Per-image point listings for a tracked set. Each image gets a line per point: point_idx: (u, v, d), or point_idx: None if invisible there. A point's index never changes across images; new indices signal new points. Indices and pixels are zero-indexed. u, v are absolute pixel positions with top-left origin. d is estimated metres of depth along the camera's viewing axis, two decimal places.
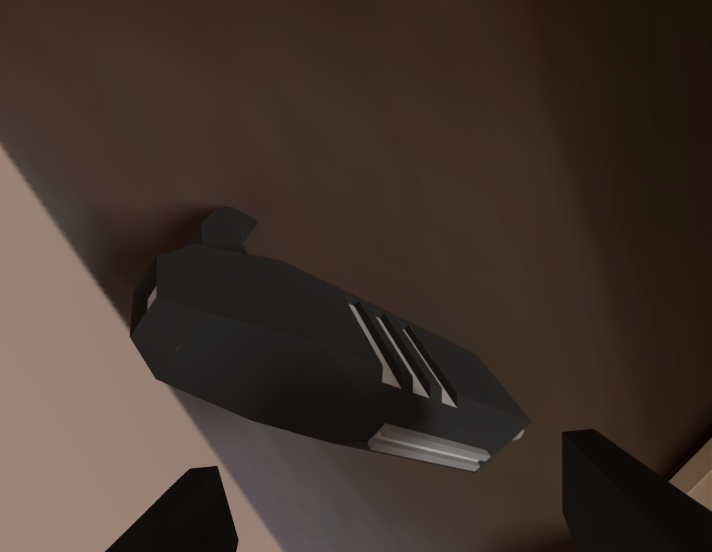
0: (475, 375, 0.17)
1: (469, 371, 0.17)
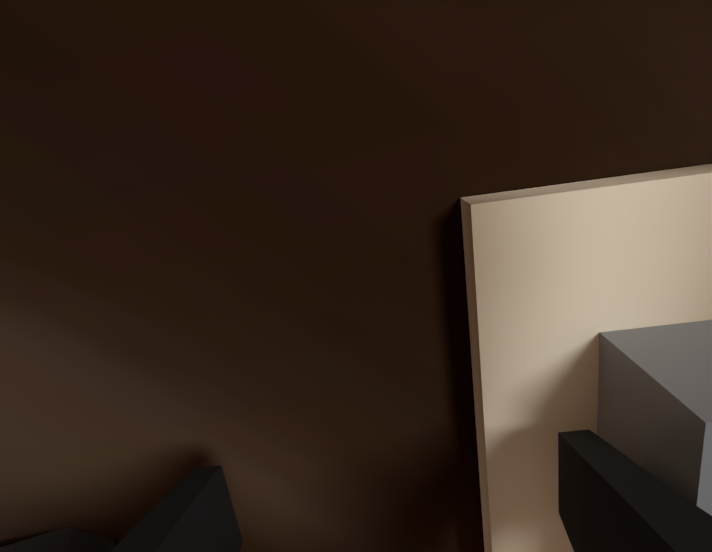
0: None
1: None
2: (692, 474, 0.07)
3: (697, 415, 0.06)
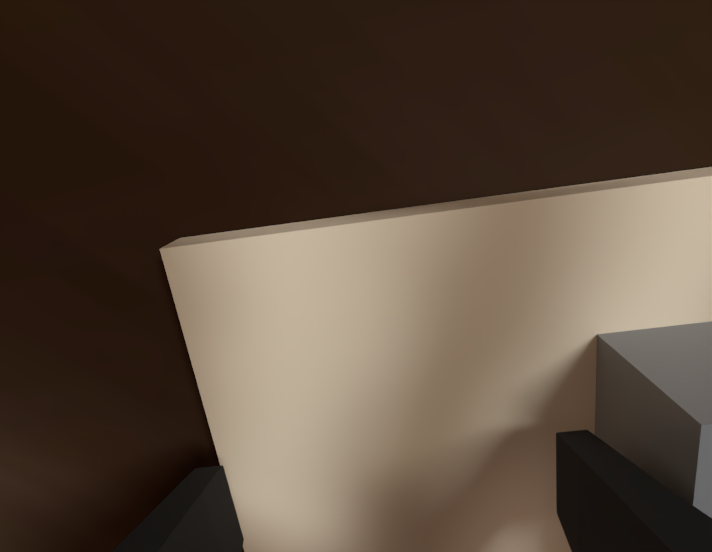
0: None
1: None
2: (689, 476, 0.07)
3: (693, 418, 0.06)
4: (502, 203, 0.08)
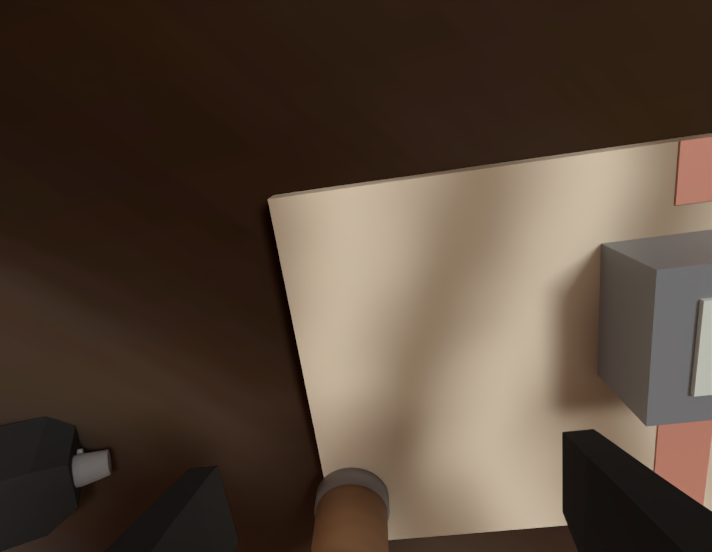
0: None
1: None
2: (651, 303, 0.12)
3: (653, 268, 0.12)
4: (474, 169, 0.14)
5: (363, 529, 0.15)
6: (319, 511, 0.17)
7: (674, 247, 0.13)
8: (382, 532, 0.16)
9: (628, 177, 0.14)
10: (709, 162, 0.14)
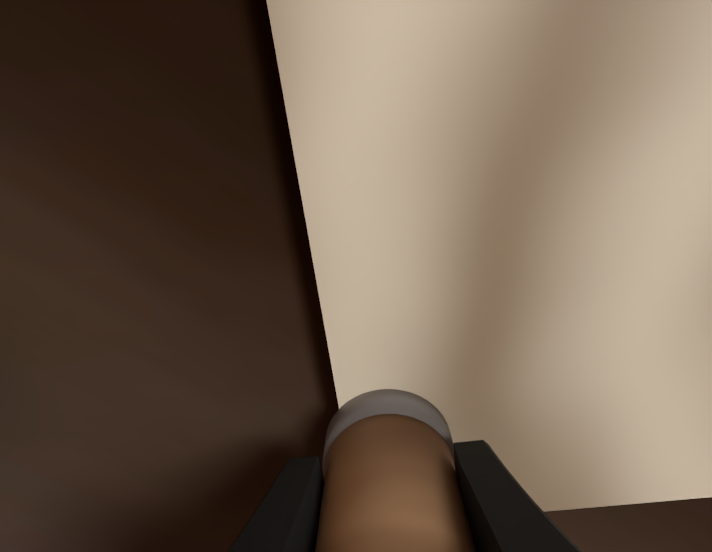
0: None
1: None
2: None
3: None
4: None
5: (424, 485, 0.08)
6: (332, 460, 0.09)
7: None
8: (457, 496, 0.08)
9: None
10: None
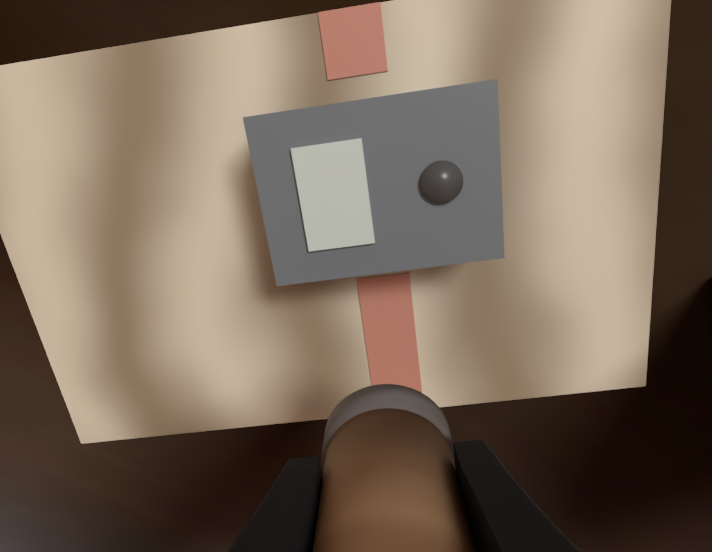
0: None
1: None
2: (251, 155, 0.13)
3: (244, 117, 0.12)
4: (131, 44, 0.15)
5: (422, 478, 0.08)
6: (331, 454, 0.09)
7: None
8: (456, 489, 0.08)
9: (277, 51, 0.14)
10: (349, 34, 0.14)
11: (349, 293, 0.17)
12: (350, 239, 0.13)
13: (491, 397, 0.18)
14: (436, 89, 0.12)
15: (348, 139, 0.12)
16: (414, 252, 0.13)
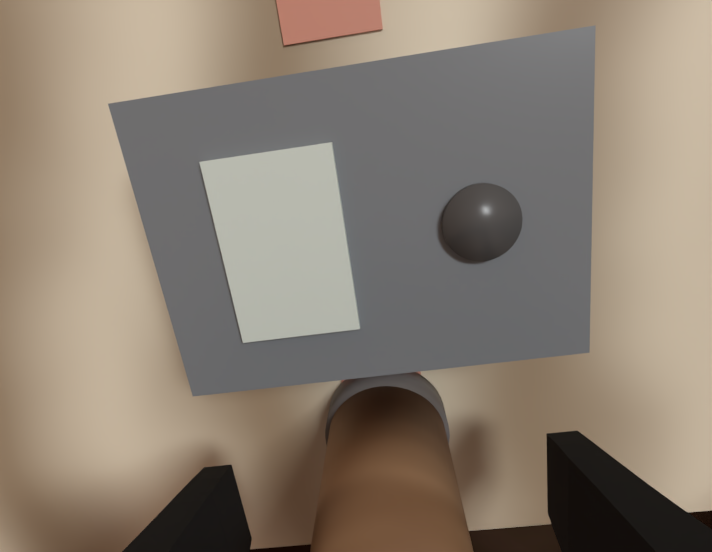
0: None
1: None
2: (133, 173, 0.07)
3: (114, 104, 0.07)
4: None
5: (416, 445, 0.08)
6: (334, 427, 0.10)
7: None
8: (447, 457, 0.09)
9: None
10: None
11: None
12: (316, 322, 0.07)
13: (537, 519, 0.12)
14: (475, 47, 0.06)
15: (307, 144, 0.07)
16: (430, 342, 0.08)
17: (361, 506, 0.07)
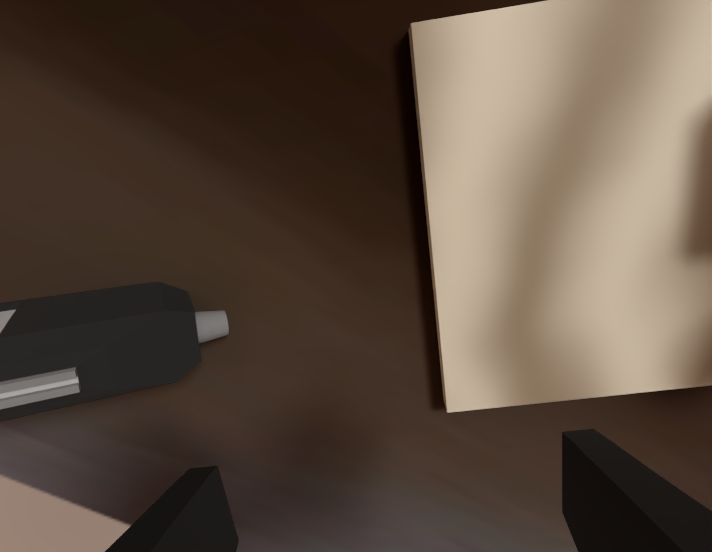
0: (101, 304, 0.16)
1: (93, 304, 0.16)
2: None
3: None
4: None
5: None
6: None
7: None
8: None
9: None
10: None
11: None
12: None
13: None
14: None
15: None
16: None
17: None
